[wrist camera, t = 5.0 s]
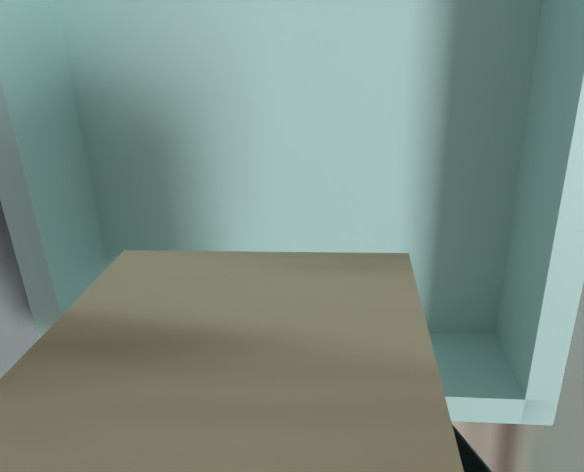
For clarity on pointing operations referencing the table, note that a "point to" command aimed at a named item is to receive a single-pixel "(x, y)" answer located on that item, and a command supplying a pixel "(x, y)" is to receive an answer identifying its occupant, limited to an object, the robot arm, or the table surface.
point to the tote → (315, 157)
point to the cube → (233, 370)
